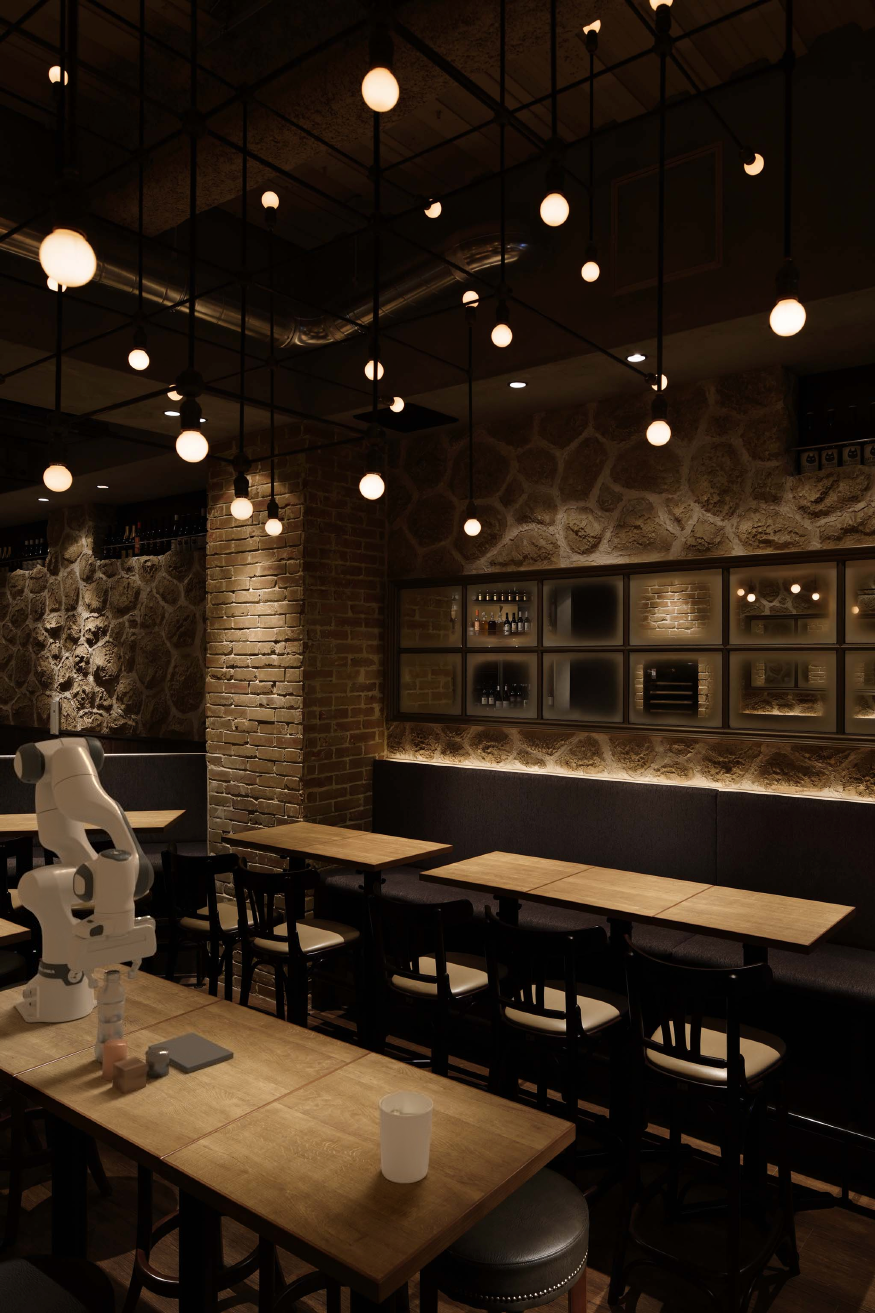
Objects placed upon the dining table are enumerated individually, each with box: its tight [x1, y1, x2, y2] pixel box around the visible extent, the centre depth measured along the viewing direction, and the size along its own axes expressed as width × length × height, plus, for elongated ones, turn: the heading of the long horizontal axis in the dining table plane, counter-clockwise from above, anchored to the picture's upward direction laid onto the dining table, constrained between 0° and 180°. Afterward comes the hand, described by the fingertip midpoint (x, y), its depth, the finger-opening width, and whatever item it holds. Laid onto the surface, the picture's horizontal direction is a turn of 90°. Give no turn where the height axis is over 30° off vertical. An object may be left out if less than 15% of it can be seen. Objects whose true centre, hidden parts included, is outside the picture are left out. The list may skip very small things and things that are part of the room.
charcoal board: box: [147, 1032, 235, 1074], centre depth 208 cm, size 17×12×1 cm
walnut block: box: [112, 1056, 147, 1095], centre depth 190 cm, size 5×5×5 cm
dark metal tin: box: [145, 1047, 170, 1080], centre depth 197 cm, size 5×5×5 cm
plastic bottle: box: [93, 969, 127, 1064], centre depth 204 cm, size 6×7×20 cm
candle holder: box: [378, 1090, 434, 1184], centre depth 160 cm, size 10×10×12 cm
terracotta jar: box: [101, 1038, 128, 1081], centre depth 196 cm, size 5×5×7 cm
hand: (112, 983), depth 204 cm, fingers open, 8 cm apart
